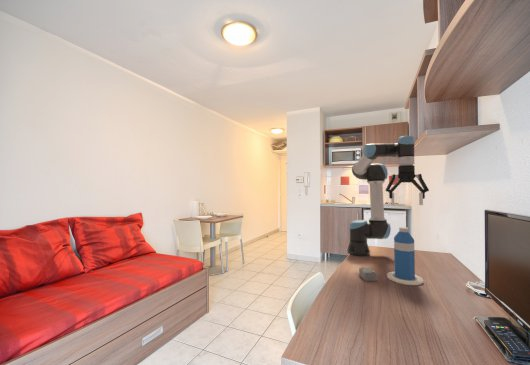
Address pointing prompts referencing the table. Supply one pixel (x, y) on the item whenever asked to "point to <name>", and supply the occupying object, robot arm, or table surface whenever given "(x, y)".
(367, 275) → the box
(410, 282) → the cream plate
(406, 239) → the water bottle
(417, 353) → the table surface
